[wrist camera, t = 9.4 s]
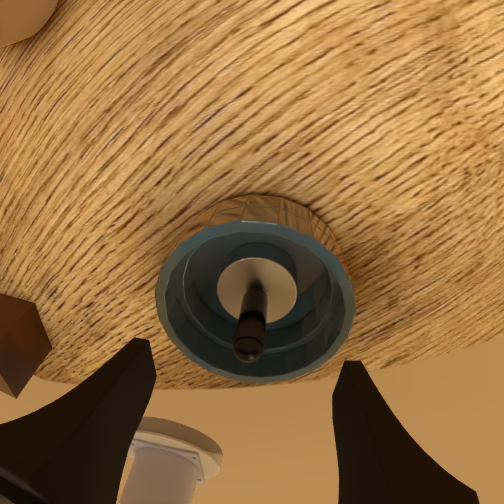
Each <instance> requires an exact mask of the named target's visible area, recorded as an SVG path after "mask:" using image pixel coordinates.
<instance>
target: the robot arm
mask: <svg viewBox="0 0 504 504" xmlns="http://www.w3.org/2000/svg"><path fill="white" fill-rule="evenodd" d="M156 377H157V375H156V370H155V366H154V361H153V357H152V352H151V347H150V342H149V340H146V339H141V338H136V337H134V338H133V339H132V340H131V341H130V342H128V343H127V344H126V345H125V346H124V347H123V348H122V349H121V350H120V351H118V352H117V353H116V354H115V355H114V356H113V357H112V358H111V359H110V360H108V361H107V362H106V363H105V364H104V365H103V366H101V367H100V368H99V369H98V370H97V371H96V372H94V373H93V374H92V375H91V376H89V377H88V378H87V379H86V380H84V381H83V382H82V383H80V384H79V385H78V386H77V387H75V388H74V389H72V390H71V391H69V392H68V393H66V394H65V395H63V396H62V397H60V398H59V399H57V400H55V401H54V402H52V403H50V404H48V405H46V406H44V407H42V408H40V409H39V410H37V411H35V412H32V413H30V414H28V415H26V416H23V417H21V418H18V419H16V420H13V421H10V422H7V423H3V424H0V504H116V500H117V495H118V490H119V485H120V481H121V477H122V472H123V468H124V465H125V461H126V457H127V454H128V450H129V448H130V446H131V448H132V449H133V451H134V453H135V455H136V456H135V459H134V462H133V465H132V468H131V470H130V473H129V475H128V478H127V481H126V484H125V487H124V490H123V493H122V495H121V498H120V501H119V504H191V503H192V498H193V494H194V490H195V485H196V483H200V484H204V476H203V471H202V467H201V462H200V457H199V454H198V453H197V452H194V451H189V450H183V449H178V448H174V447H169V446H165V445H160V444H156V443H152V442H148V441H144V440H140V439H136V438H134V435H135V433H136V431H137V428H138V426H139V424H140V421H141V419H142V417H143V414H144V412H145V409H146V407H147V405H148V403H149V400H150V397H151V394H152V391H153V388H154V384H155V380H156ZM332 399H333V400H332V406H333V407H332V412H333V426H334V434H335V442H336V450H337V459H338V467H339V501H338V504H479V500H478V496H477V493H476V491H474V490H473V489H471V488H469V487H468V486H466V485H465V484H463V483H462V482H460V481H459V480H457V479H456V478H455V477H453V476H452V475H451V474H449V473H448V472H447V471H445V470H444V469H443V468H442V467H441V466H439V464H437V463H436V462H435V461H434V460H433V459H432V458H431V457H430V456H429V455H428V454H427V453H426V452H425V451H424V450H423V449H422V448H421V447H420V446H419V445H418V444H417V443H416V442H415V441H414V439H413V438H412V437H411V436H410V435H409V434H408V432H407V431H406V430H405V428H404V427H403V426H402V425H401V423H400V422H399V420H398V419H397V418H396V416H395V415H394V414H393V412H392V411H391V409H390V408H389V406H388V405H387V403H386V402H385V400H384V399H383V397H382V396H381V394H380V392H379V391H378V389H377V387H376V386H375V385H374V382H373V381H372V379H371V378H370V376H369V374H368V372H367V371H366V369H365V367H364V365H363V364H362V362H361V361H344V364H343V367H342V370H341V372H340V375H339V378H338V381H337V384H336V386H335V390H334V392H333V395H332Z"/></svg>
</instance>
